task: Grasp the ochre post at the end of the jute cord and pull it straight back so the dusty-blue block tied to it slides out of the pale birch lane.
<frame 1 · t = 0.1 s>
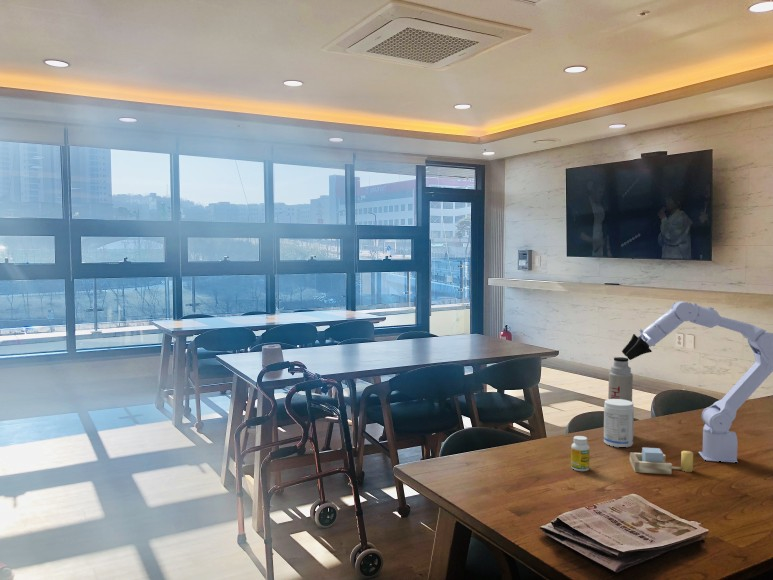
hand: (625, 355, 204), 32 cm above the table, tool tilted 50°, fingers open, 7 cm apart
supplement bottle: (580, 469, 191), on the table
corded block: (652, 468, 191), on the table
supplement tub: (618, 444, 215), on the table
birch lane: (652, 468, 191), on the table
thermos bottle: (619, 435, 225), on the table
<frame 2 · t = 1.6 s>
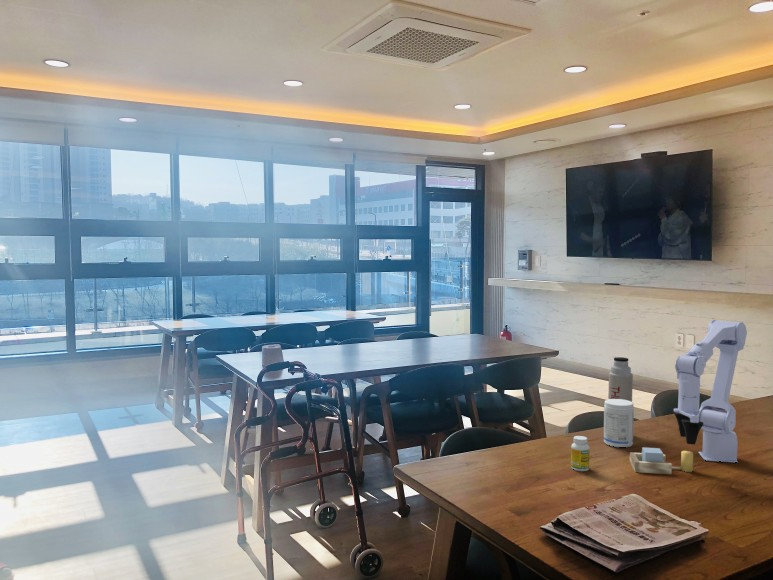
hand: (687, 440, 189), 9 cm above the table, tool pointing down, fingers open, 7 cm apart
nothing on the table moved.
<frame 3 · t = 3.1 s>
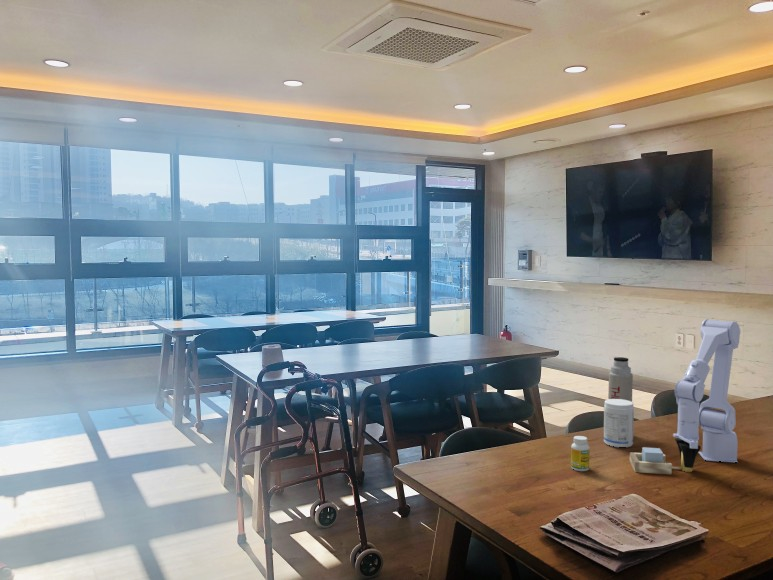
hand: (686, 465, 189), 2 cm above the table, tool pointing down, fingers closed on corded block, 3 cm apart
corded block: (652, 468, 191), on the table, touching gripper
everything else where it was.
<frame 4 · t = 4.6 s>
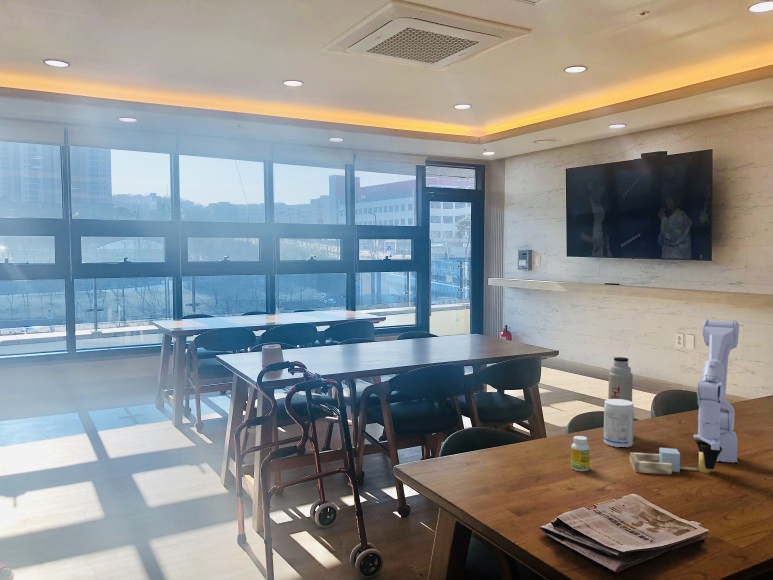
hand: (707, 466, 188), 2 cm above the table, tool pointing down, fingers closed on corded block, 3 cm apart
corded block: (669, 468, 191), on the table, touching gripper
everything else where it was.
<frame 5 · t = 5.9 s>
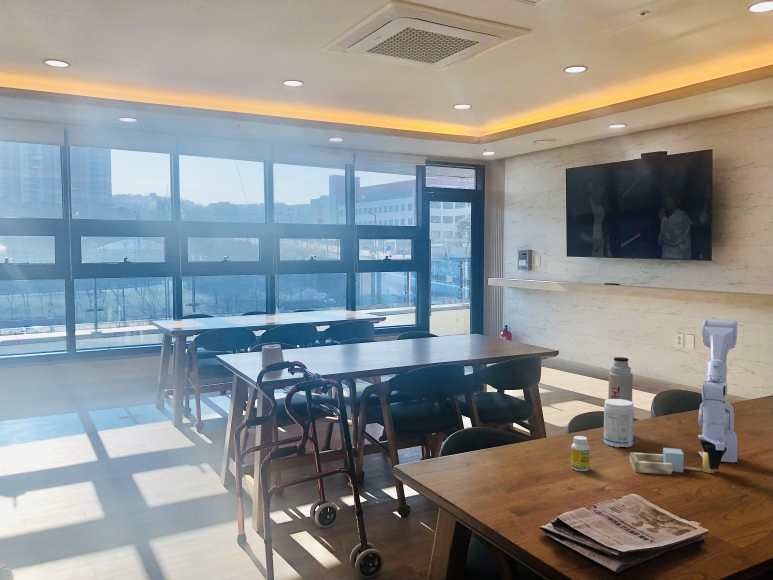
hand: (712, 466, 188), 2 cm above the table, tool pointing down, fingers closed on corded block, 3 cm apart
corded block: (672, 468, 190), on the table, touching gripper
everything else where it was.
when the fingers open (2 cm above the table, at t = 6.2 s): corded block stays where it is, on the table.
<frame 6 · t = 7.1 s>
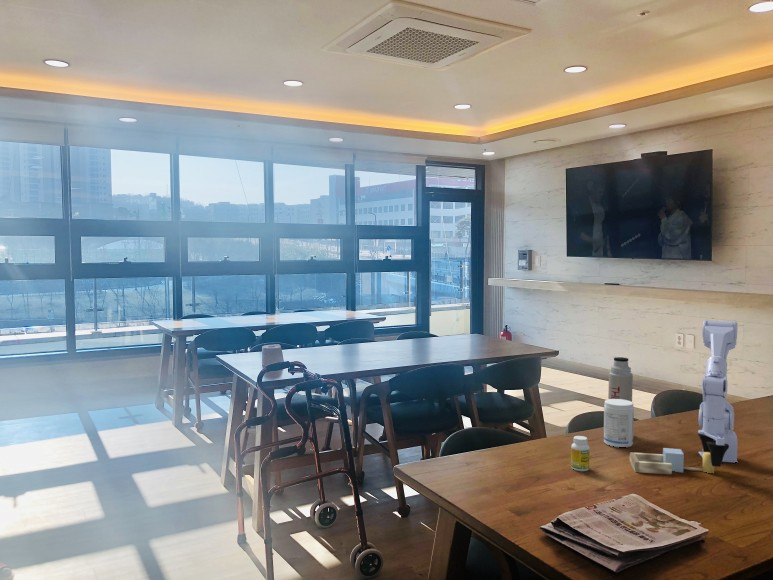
hand: (712, 461, 188), 3 cm above the table, tool pointing down, fingers open, 7 cm apart
corded block: (672, 468, 190), on the table
everything else where it was.
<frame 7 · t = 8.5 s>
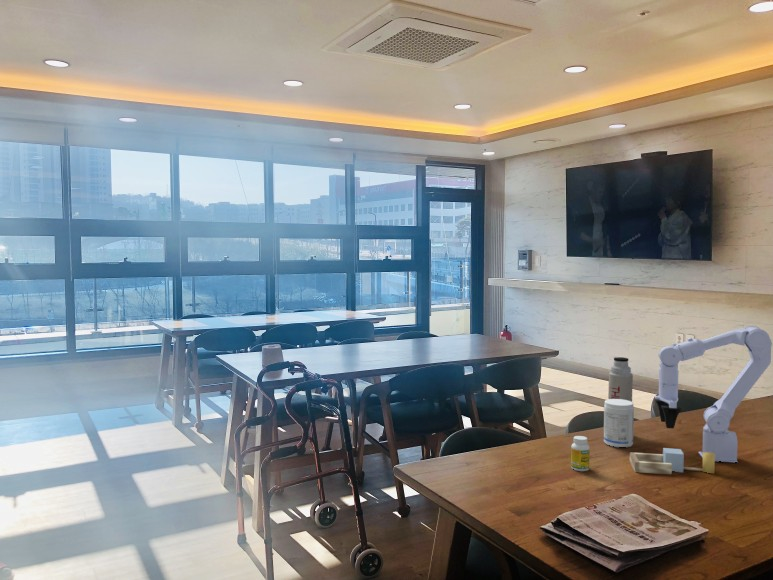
hand: (667, 424, 205), 9 cm above the table, tool pointing down, fingers open, 7 cm apart
nothing on the table moved.
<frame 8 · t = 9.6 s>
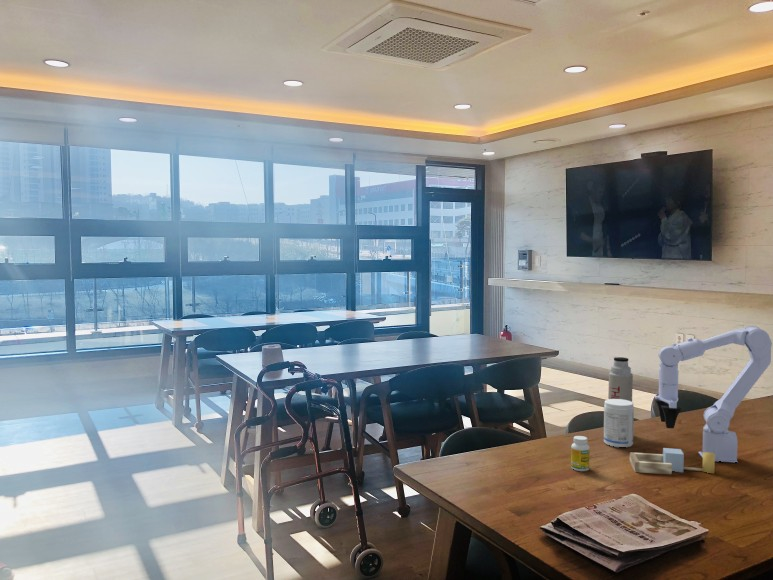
hand: (667, 424, 205), 9 cm above the table, tool pointing down, fingers open, 7 cm apart
nothing on the table moved.
at the end: corded block inside the target area (3.1 cm from its centre), on the table; corded block moved 6.0 cm from its start; the gripper is holding nothing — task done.
